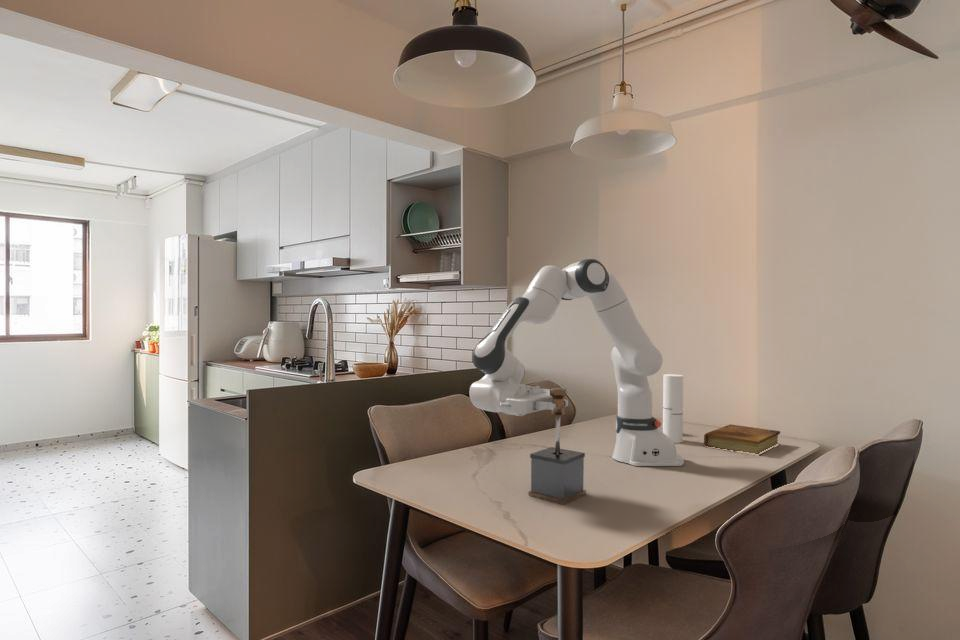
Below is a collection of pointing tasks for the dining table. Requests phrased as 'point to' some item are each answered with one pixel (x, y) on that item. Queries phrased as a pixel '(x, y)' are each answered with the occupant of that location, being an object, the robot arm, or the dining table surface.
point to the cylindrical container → (673, 407)
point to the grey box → (557, 475)
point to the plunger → (558, 412)
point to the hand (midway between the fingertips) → (560, 405)
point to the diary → (741, 438)
